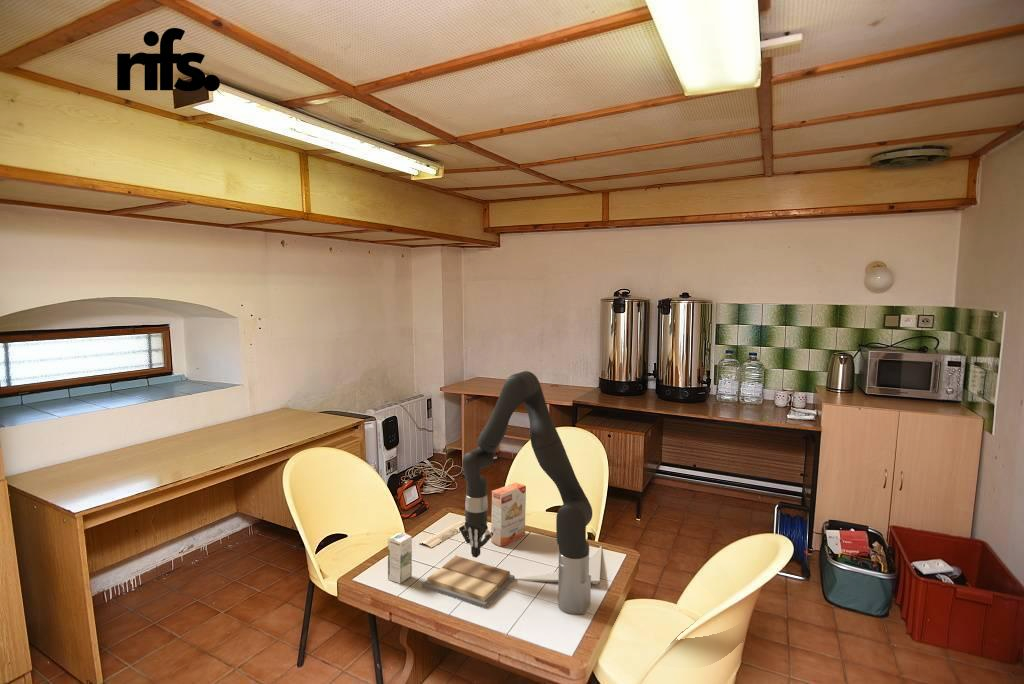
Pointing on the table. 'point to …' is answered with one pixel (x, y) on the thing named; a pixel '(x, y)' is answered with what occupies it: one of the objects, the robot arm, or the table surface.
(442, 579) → the oak plank
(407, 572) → the syrup box
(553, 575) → the corner molding
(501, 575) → the walnut plank
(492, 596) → the board
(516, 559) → the table surface
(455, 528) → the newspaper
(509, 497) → the cracker box
